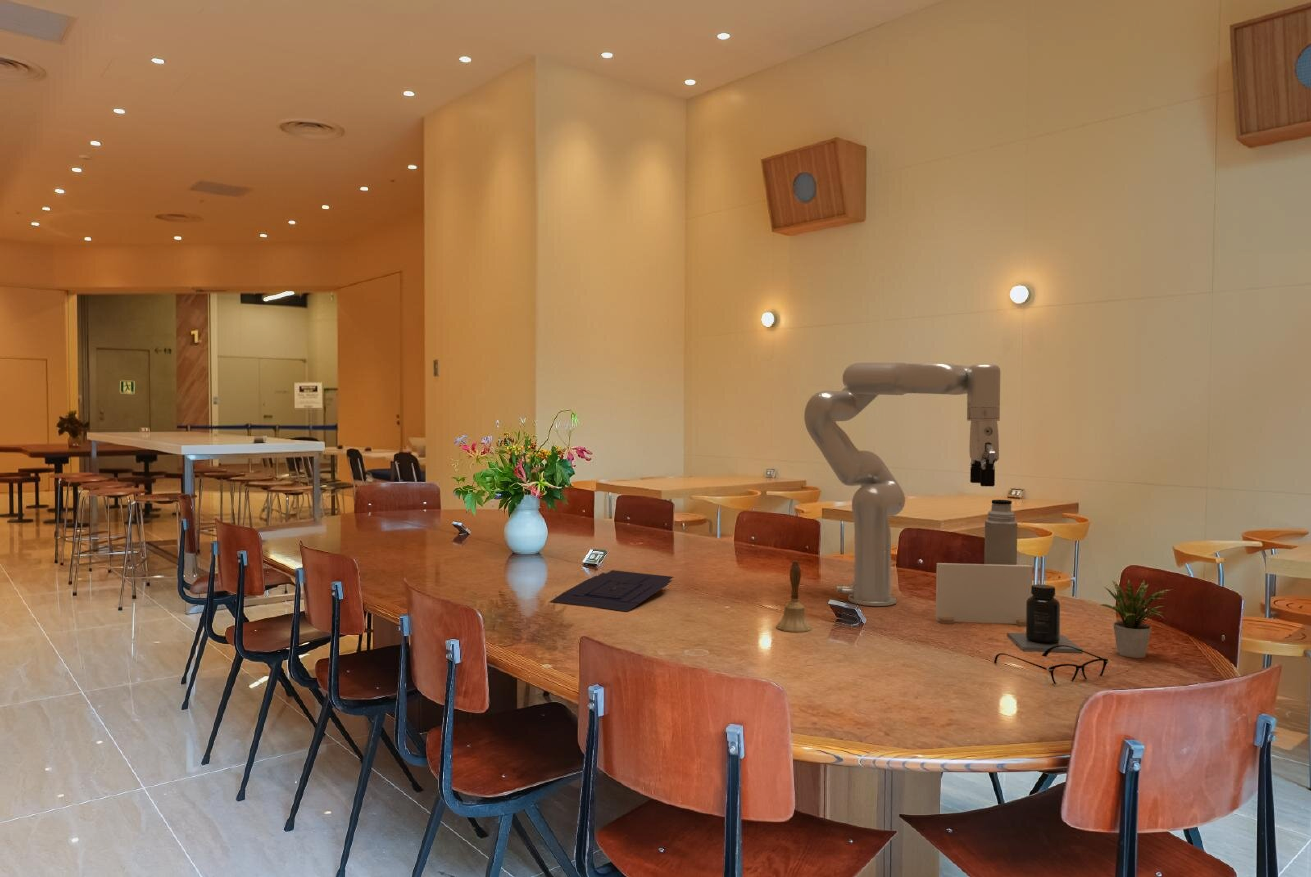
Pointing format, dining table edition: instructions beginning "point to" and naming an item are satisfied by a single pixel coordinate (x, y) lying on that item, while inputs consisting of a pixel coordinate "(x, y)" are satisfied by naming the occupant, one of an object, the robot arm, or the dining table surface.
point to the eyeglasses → (1064, 664)
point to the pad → (1043, 644)
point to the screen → (982, 593)
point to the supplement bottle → (1043, 615)
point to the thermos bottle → (1001, 534)
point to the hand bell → (794, 606)
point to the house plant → (1133, 620)
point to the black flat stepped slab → (614, 590)
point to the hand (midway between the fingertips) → (982, 484)
